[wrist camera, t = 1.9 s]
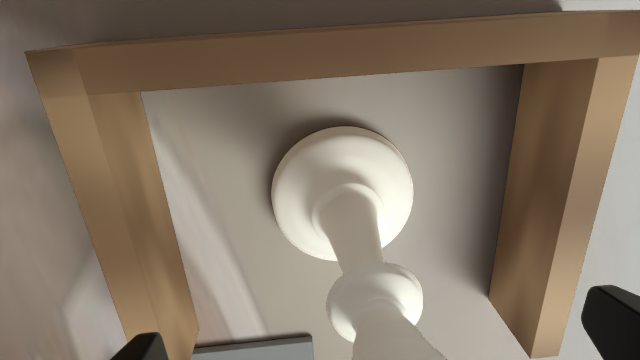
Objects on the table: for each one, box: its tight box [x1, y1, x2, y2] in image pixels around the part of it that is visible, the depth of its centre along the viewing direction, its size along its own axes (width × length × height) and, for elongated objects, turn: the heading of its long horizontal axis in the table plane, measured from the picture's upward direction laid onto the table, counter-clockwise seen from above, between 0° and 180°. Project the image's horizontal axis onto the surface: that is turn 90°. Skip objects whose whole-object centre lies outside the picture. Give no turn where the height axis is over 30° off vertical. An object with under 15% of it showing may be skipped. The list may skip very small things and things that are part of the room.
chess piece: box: [271, 126, 447, 360], centre depth 9 cm, size 5×5×10 cm
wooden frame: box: [24, 10, 640, 360], centre depth 12 cm, size 11×14×3 cm
